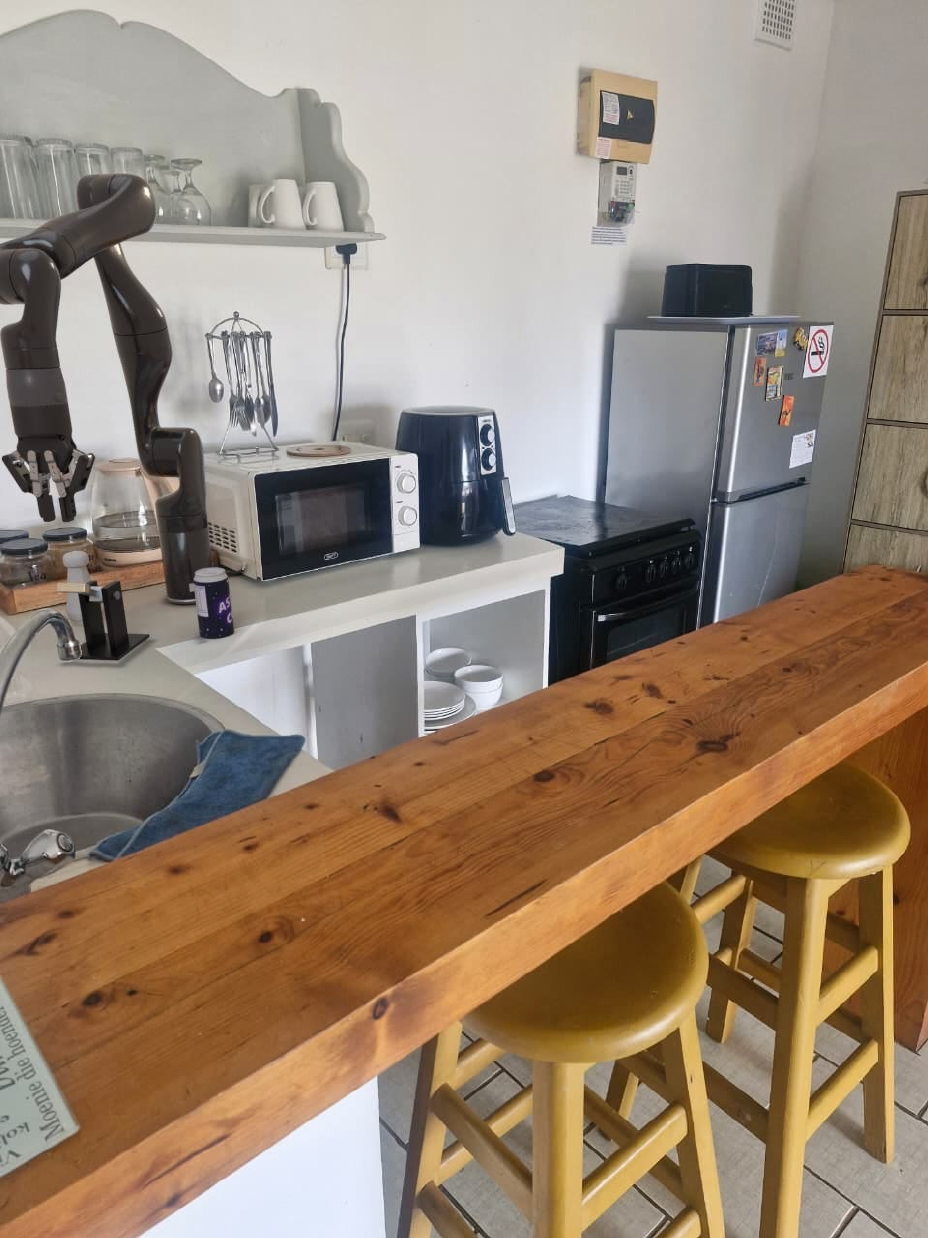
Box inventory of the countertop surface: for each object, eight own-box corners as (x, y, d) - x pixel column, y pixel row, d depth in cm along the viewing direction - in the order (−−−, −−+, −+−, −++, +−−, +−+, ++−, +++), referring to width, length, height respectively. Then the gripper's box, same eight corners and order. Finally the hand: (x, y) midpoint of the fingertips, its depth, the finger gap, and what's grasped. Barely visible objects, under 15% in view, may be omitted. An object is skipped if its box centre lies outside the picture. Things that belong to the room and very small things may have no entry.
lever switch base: (119, 665, 138) (108, 595, 134) (65, 664, 139) (53, 593, 135) (150, 641, 149) (141, 575, 145) (100, 640, 150) (90, 574, 146)
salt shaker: (81, 628, 156) (69, 558, 151) (61, 623, 159) (49, 554, 154) (109, 619, 160) (98, 550, 156) (89, 614, 163) (79, 547, 159)
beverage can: (225, 644, 147) (217, 576, 143) (194, 643, 148) (186, 575, 144) (240, 633, 152) (233, 567, 148) (210, 631, 153) (202, 566, 149)
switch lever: (84, 595, 132) (85, 579, 132) (56, 594, 132) (57, 579, 133) (117, 603, 142) (118, 589, 142) (91, 603, 142) (92, 588, 142)
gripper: (98, 398, 126) (115, 516, 131) (9, 399, 127) (29, 515, 133) (70, 403, 119) (90, 527, 124) (-24, 403, 120) (-1, 526, 126)
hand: (58, 520), depth 129 cm, fingers closed
